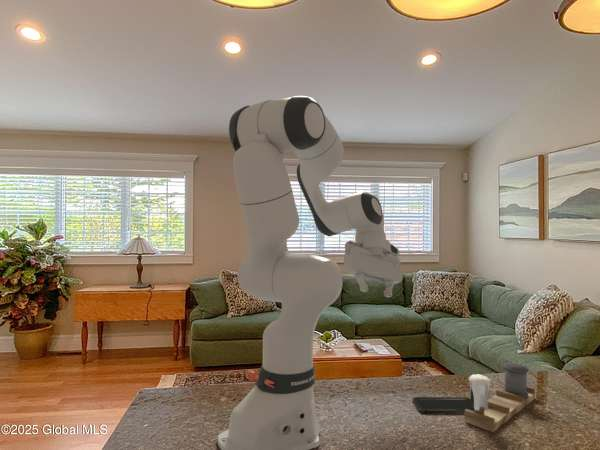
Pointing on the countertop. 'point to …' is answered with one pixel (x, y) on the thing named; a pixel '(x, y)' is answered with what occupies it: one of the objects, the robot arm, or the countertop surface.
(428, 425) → the countertop surface
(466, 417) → the organizer
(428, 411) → the phone
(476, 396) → the milkshake
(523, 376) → the spool
